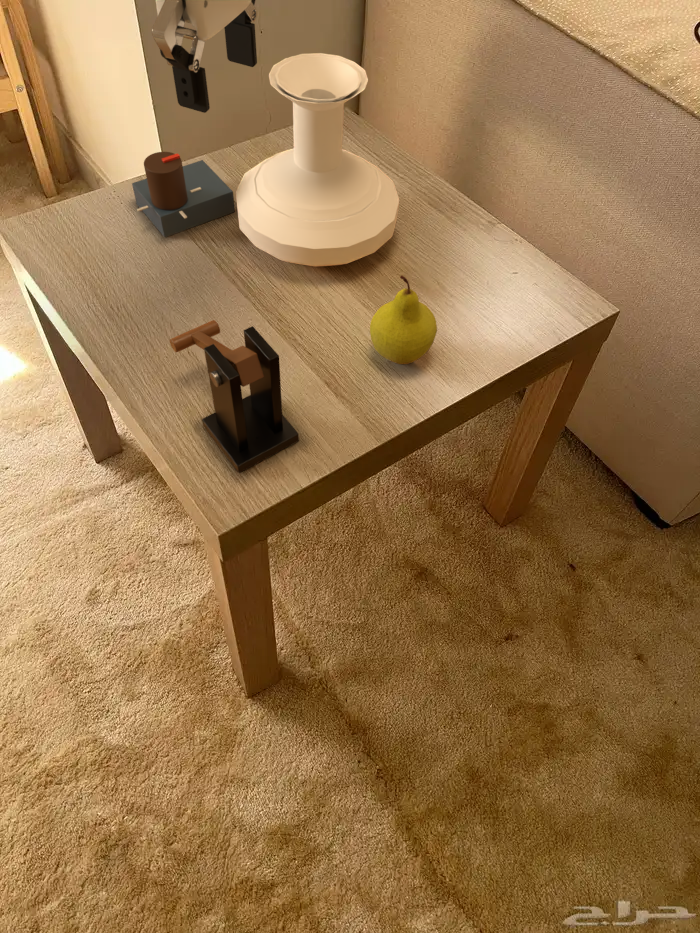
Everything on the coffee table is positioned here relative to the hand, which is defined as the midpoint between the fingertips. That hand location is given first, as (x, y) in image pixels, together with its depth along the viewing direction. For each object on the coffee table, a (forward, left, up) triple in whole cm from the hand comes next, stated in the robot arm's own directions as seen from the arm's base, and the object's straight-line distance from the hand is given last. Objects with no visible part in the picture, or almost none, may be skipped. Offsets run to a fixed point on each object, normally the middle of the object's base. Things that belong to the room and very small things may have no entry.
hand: (219, 84), depth 70 cm
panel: (-7, +7, -20) cm, 22 cm away
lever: (+1, -25, -13) cm, 28 cm away
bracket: (+3, -29, -20) cm, 35 cm away
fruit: (+19, -17, -20) cm, 33 cm away
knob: (-8, +5, -17) cm, 20 cm away
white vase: (+10, +4, -20) cm, 23 cm away
